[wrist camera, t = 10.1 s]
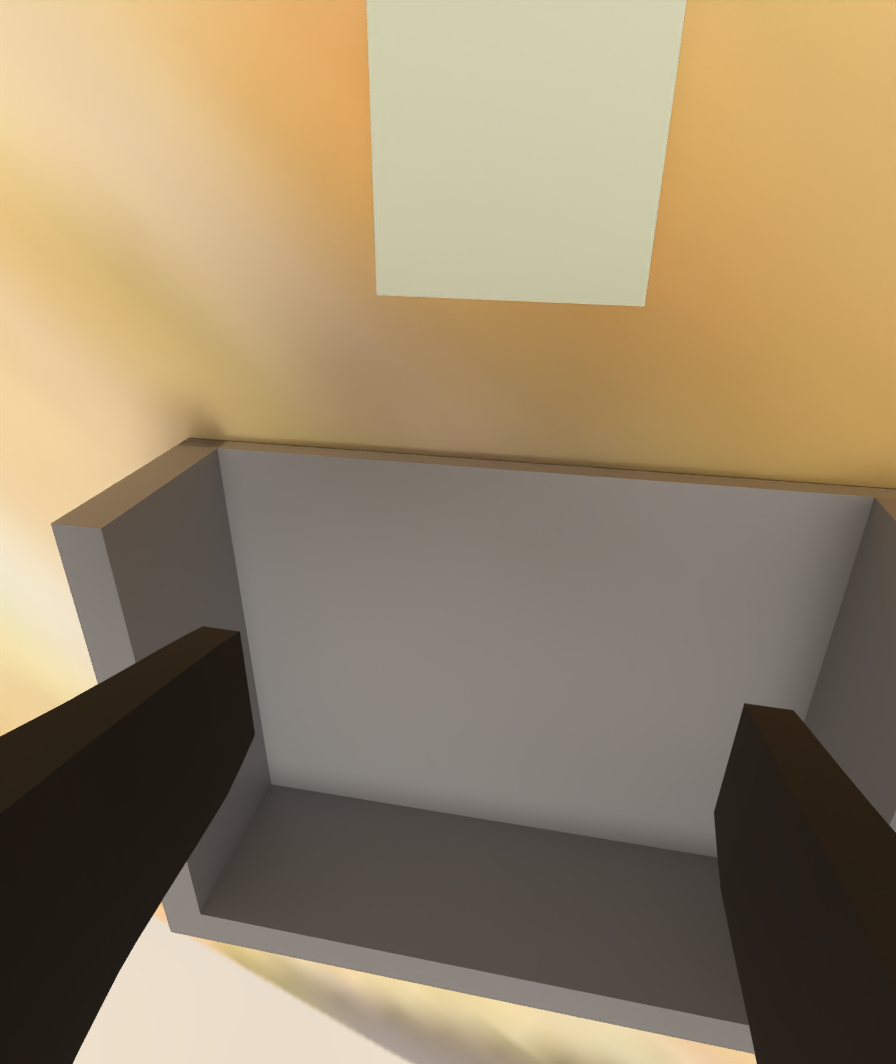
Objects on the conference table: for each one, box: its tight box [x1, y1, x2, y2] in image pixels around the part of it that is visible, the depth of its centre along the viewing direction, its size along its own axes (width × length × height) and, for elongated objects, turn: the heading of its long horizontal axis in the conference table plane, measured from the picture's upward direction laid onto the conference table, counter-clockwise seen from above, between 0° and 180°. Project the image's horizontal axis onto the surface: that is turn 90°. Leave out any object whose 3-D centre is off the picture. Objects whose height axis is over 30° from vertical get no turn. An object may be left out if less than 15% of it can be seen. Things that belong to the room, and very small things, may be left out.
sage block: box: [366, 0, 687, 306], centre depth 13 cm, size 4×4×5 cm
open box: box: [51, 438, 896, 1054], centre depth 19 cm, size 19×14×6 cm
